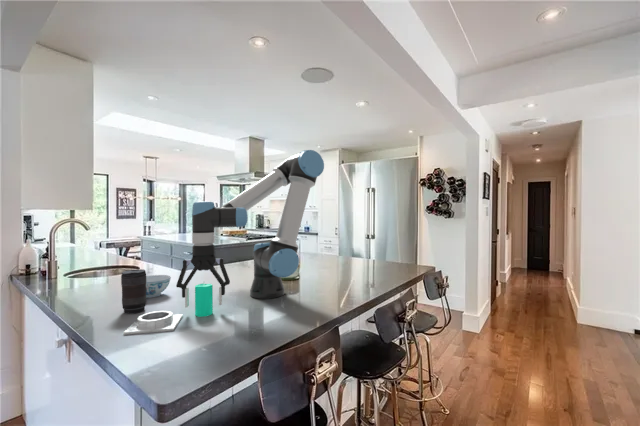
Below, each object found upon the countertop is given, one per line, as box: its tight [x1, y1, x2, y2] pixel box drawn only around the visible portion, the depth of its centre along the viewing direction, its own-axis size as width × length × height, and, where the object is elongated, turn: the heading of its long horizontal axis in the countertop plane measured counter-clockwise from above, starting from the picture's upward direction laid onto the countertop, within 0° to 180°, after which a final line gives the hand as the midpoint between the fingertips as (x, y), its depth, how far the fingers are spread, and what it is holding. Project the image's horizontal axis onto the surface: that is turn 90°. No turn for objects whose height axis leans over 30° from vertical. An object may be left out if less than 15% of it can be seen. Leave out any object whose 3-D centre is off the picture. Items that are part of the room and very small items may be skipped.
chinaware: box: [146, 274, 172, 299], centre depth 140 cm, size 15×15×8 cm
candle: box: [194, 282, 214, 318], centre depth 114 cm, size 6×6×12 cm
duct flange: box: [122, 310, 184, 336], centre depth 103 cm, size 14×14×3 cm
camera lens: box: [120, 268, 147, 315], centre depth 118 cm, size 8×8×15 cm
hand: (204, 305), depth 114 cm, fingers open, 11 cm apart
